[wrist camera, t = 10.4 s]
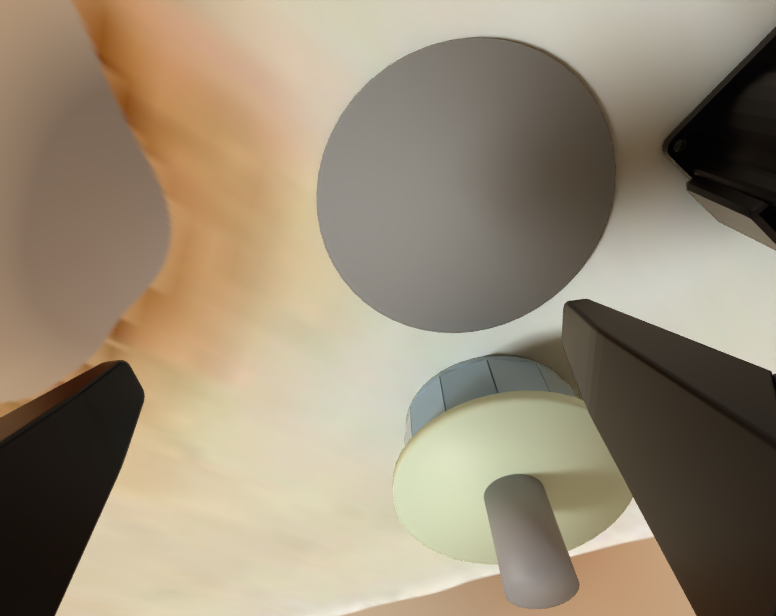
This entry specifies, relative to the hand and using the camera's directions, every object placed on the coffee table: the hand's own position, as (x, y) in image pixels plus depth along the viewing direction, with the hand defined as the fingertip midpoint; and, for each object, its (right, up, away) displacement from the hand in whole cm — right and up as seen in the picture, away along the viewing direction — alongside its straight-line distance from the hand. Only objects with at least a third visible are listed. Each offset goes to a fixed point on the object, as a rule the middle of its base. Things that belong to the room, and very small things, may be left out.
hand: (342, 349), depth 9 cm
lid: (+7, -8, +14) cm, 17 cm away
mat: (+4, +5, +11) cm, 13 cm away
